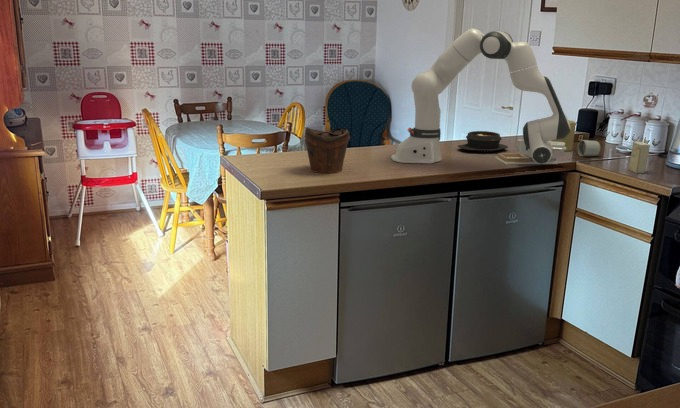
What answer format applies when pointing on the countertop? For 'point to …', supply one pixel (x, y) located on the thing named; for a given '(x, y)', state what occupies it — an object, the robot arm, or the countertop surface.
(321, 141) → the wooden bucket
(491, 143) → the casserole
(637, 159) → the skincare box
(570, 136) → the cheese
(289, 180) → the countertop surface
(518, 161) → the seat plate
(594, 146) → the ceramic mug
